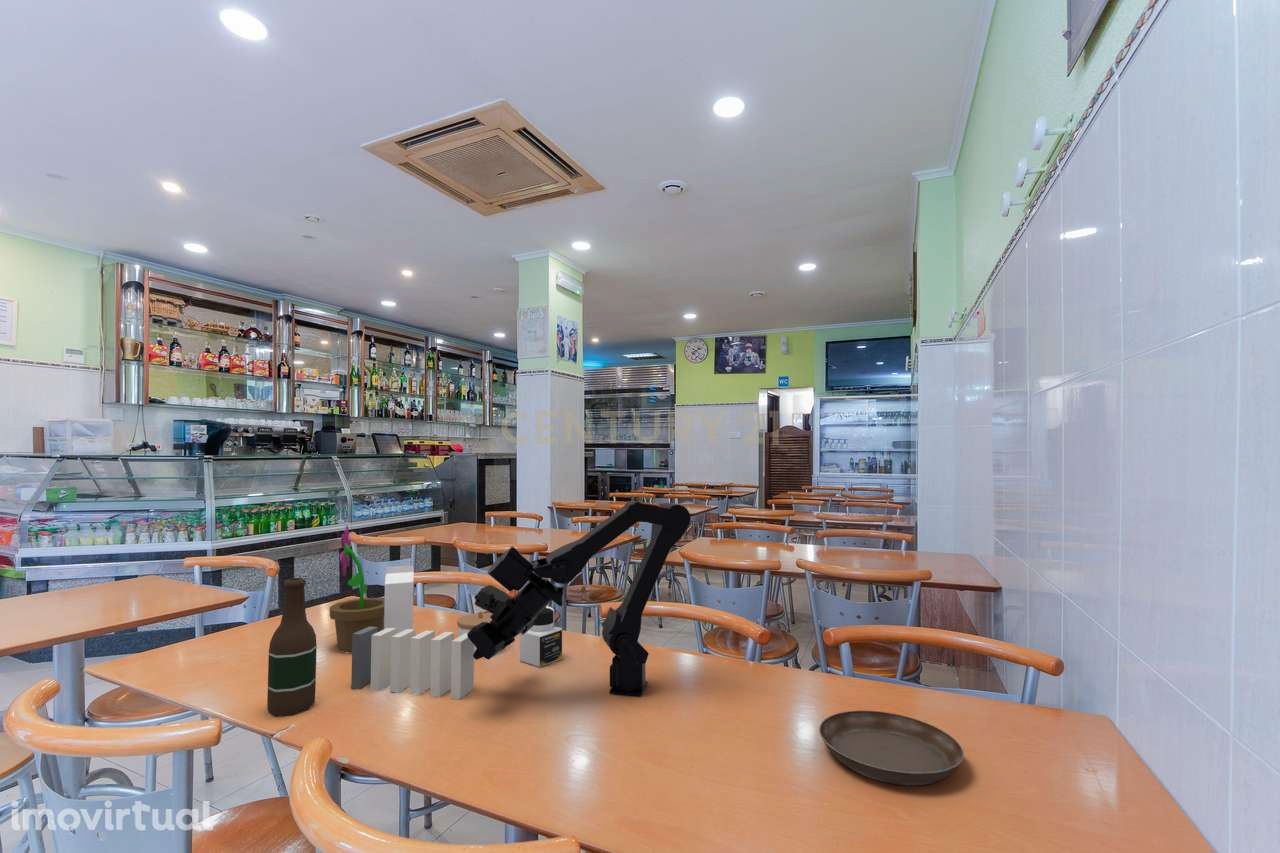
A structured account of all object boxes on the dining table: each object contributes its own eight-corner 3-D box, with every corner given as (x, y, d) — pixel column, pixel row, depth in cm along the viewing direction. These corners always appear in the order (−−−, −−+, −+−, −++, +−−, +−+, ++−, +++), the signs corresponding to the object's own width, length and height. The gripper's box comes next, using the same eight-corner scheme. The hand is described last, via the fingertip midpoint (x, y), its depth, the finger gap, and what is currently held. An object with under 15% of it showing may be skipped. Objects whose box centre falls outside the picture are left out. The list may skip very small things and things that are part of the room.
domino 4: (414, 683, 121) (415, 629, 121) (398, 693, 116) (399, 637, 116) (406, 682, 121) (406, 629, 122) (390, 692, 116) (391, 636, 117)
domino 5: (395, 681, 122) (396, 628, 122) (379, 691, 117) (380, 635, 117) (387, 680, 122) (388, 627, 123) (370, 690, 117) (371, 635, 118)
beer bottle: (293, 719, 104) (296, 584, 106) (256, 715, 106) (260, 582, 107) (324, 701, 112) (327, 575, 113) (290, 698, 114) (293, 574, 115)
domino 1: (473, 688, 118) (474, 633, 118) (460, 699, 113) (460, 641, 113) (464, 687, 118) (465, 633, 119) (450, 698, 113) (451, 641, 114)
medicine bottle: (540, 668, 129) (540, 613, 130) (518, 661, 134) (518, 608, 134) (562, 659, 135) (562, 606, 136) (541, 652, 139) (541, 602, 140)
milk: (384, 661, 134) (386, 565, 135) (412, 658, 136) (413, 563, 137) (383, 670, 128) (384, 569, 130) (412, 666, 130) (413, 567, 132)
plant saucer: (846, 716, 105) (846, 698, 105) (976, 753, 92) (975, 731, 92) (798, 763, 89) (797, 741, 89) (947, 816, 76) (946, 790, 76)
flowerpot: (334, 640, 149) (337, 523, 151) (394, 635, 154) (396, 521, 155) (322, 658, 136) (325, 529, 137) (388, 652, 140) (390, 527, 142)
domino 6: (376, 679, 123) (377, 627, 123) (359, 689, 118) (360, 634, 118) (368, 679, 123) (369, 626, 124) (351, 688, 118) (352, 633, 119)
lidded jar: (454, 647, 144) (454, 609, 144) (497, 641, 148) (498, 604, 149) (460, 661, 134) (460, 619, 134) (506, 654, 138) (507, 614, 139)
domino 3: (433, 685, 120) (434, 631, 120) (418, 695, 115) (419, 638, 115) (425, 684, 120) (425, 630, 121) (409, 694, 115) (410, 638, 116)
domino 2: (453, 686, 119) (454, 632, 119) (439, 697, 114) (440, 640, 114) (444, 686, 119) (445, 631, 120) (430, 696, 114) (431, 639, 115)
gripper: (520, 564, 124) (472, 614, 126) (478, 583, 106) (422, 640, 108) (555, 604, 122) (505, 653, 124) (517, 630, 104) (460, 687, 106)
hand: (475, 657), depth 115 cm, fingers closed
